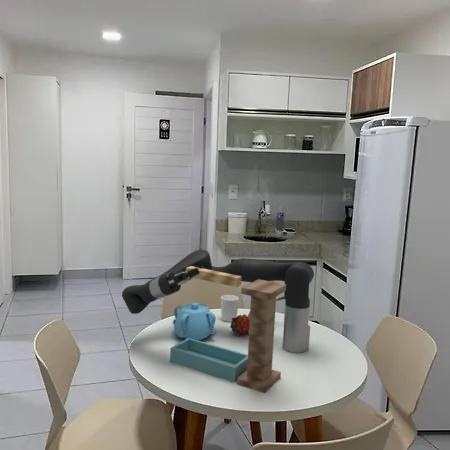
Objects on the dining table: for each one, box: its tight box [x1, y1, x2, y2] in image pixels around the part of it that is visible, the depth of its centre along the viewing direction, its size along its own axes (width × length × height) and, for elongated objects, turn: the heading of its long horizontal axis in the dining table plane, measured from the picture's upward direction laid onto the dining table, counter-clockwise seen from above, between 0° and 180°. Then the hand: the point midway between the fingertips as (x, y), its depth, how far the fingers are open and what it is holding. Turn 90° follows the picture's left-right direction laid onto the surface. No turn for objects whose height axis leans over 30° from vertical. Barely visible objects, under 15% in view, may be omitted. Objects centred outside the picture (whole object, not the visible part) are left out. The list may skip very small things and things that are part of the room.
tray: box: [169, 338, 248, 383], centre depth 156 cm, size 26×11×5 cm, turn 60°
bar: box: [186, 266, 242, 288], centre depth 151 cm, size 20×3×3 cm, turn 60°
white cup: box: [220, 294, 240, 323], centre depth 201 cm, size 8×8×10 cm
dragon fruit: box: [230, 313, 250, 336], centre depth 186 cm, size 8×8×12 cm
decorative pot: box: [172, 302, 217, 341], centre depth 180 cm, size 16×16×14 cm
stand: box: [236, 279, 286, 394], centre depth 144 cm, size 10×12×32 cm
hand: (200, 269), depth 154 cm, fingers closed on bar, 3 cm apart
